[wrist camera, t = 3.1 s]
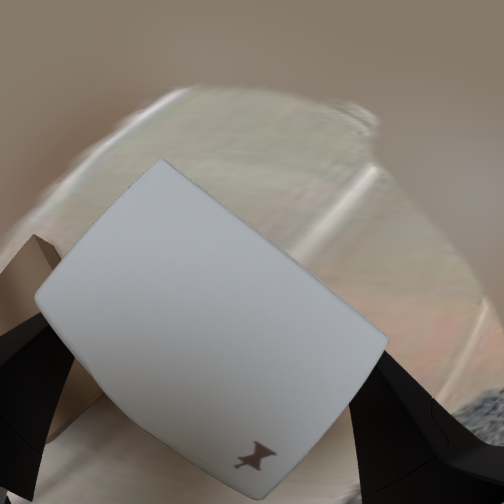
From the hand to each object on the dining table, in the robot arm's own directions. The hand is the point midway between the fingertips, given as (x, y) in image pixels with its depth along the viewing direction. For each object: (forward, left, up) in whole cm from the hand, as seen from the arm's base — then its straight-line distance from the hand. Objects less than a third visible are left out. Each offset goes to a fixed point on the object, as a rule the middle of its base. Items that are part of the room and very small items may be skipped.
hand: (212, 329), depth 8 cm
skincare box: (0, 0, -8) cm, 8 cm away
